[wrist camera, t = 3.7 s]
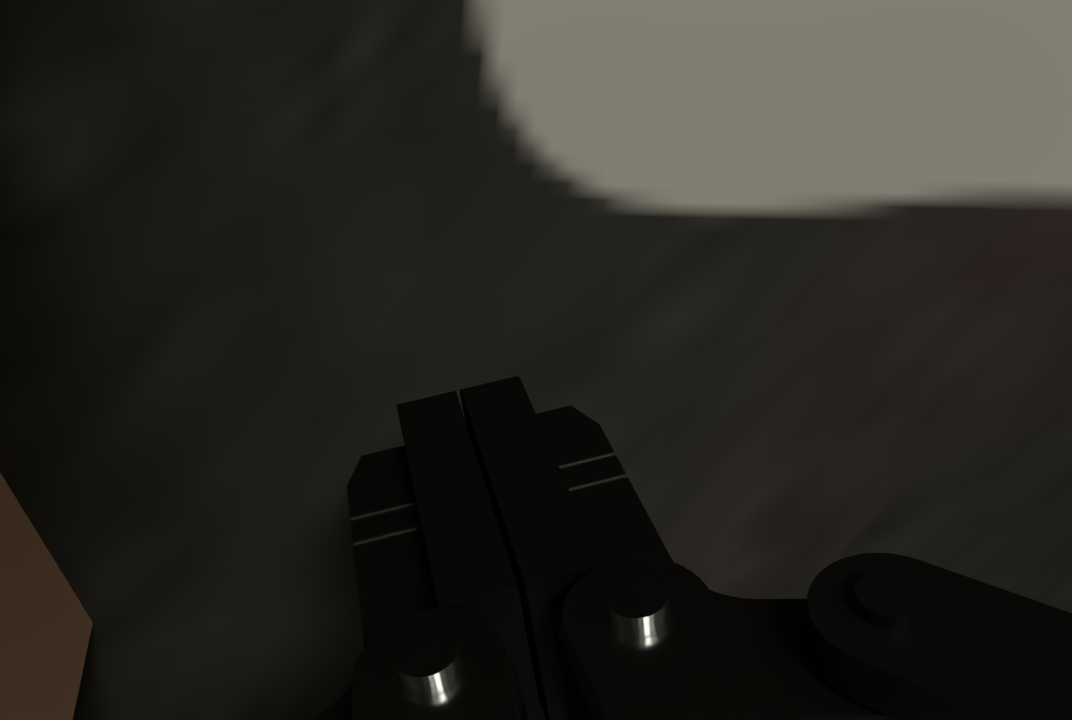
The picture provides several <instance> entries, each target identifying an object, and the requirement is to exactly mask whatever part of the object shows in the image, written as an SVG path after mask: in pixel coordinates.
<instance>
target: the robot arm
mask: <svg viewBox="0 0 1072 720" xmlns="http://www.w3.org/2000/svg"><path fill="white" fill-rule="evenodd" d="M460 395H461V401H462V407H463V412H464V416H463V413H462V410H461V406H460V403H459V400H458V397H457V394H456V392H455V391H453V392H449V393H445V394H440V395H436V396H432V397H428V398H423V399H419V400H415V401H410V402H406V403H402V404H398V405H397V410H398V415H399V420H400V424H401V429H402V434H403V439H404V443H405V446H401V447H397V448H393V449H388V450H384V451H380V452H376V453H372V454H368V455H363V456H361V458H360V460H359V462H358V464H357V466H356V469H355V471H354V473H353V475H352V477H351V479H350V481H349V483H348V485H347V492H348V501H349V510H350V517H351V528H352V537H353V543H354V555H355V564H356V573H357V582H358V590H359V599H360V608H361V617H362V626H363V635H364V649H363V650H362V652H361V654H360V656H359V658H358V659H357V662H356V665H355V668H354V671H353V678H352V683H351V685H350V686H349V687H348V689H347V690H346V691H345V692H344V694H343V695H342V696H341V697H340V698H339V699H338V700H337V701H336V702H335V703H334V704H333V705H332V706H331V707H330V708H328V709H327V710H326V711H325V712H323V713H322V714H321V715H319V716H318V717H316V718H315V719H313V720H543V719H542V713H541V708H540V703H541V707H542V710H543V713H544V717H545V720H1072V613H1069V612H1066V611H1064V610H1061V609H1058V608H1055V607H1052V606H1049V605H1046V604H1044V603H1041V602H1038V601H1035V600H1032V599H1029V598H1026V597H1023V596H1021V595H1018V594H1015V593H1012V592H1009V591H1006V590H1003V589H1001V588H998V587H995V586H992V585H989V584H986V583H983V582H981V581H978V580H975V579H972V578H969V577H966V576H963V575H961V574H958V573H955V572H952V571H949V570H946V569H943V568H941V567H938V566H935V565H932V564H929V563H926V562H923V561H921V560H918V559H914V558H911V557H907V556H903V555H897V554H890V553H865V554H859V555H853V556H850V557H846V558H843V559H840V560H838V561H836V562H834V563H832V564H830V565H829V566H827V567H826V568H825V569H823V570H822V571H821V572H820V573H819V574H818V575H817V576H816V577H815V579H814V580H813V582H812V584H811V586H810V588H809V592H808V595H807V599H745V598H738V597H732V596H728V595H724V594H720V593H717V592H714V591H712V590H709V588H708V587H707V585H706V584H705V583H704V582H703V581H702V580H701V578H700V577H698V576H697V575H696V574H695V573H693V572H692V571H691V570H689V569H687V568H685V567H684V566H682V565H679V564H677V563H674V562H673V560H672V559H671V557H670V555H669V553H668V552H667V550H666V548H665V546H664V544H663V542H662V540H661V539H660V537H659V535H658V533H657V531H656V529H655V527H654V525H653V524H652V522H651V520H650V518H649V516H648V514H647V512H646V510H645V509H644V507H643V505H642V503H641V501H640V499H639V497H638V495H637V494H636V492H635V490H634V488H633V486H632V484H631V482H630V481H629V479H628V478H626V475H625V471H624V469H623V467H622V466H621V464H620V462H619V460H618V458H617V456H615V455H614V451H613V449H612V447H611V445H610V443H609V441H608V439H607V437H606V436H605V434H604V432H603V430H602V428H601V426H600V424H598V423H597V422H595V421H594V420H592V419H590V418H589V417H587V416H586V415H584V414H583V413H581V412H580V411H578V410H577V409H575V408H574V407H572V406H567V407H562V408H558V409H554V410H550V411H546V412H542V413H537V414H536V413H535V411H534V409H533V406H532V404H531V402H530V399H529V397H528V395H527V393H526V390H525V388H524V386H523V384H522V381H521V379H520V378H519V376H516V377H512V378H508V379H503V380H499V381H495V382H491V383H486V384H482V385H478V386H474V387H469V388H465V389H461V390H460ZM464 417H465V419H464ZM539 700H540V703H539Z"/></svg>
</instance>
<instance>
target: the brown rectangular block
mask: <svg viewBox="0 0 1072 720" xmlns="http://www.w3.org/2000/svg"><path fill="white" fill-rule="evenodd" d="M92 624H93V622H92V620H91V619H90V617H89V616H88V614H87V612H86V611H85V609H84V608H83V606H82V604H81V603H80V601H79V599H78V598H77V596H76V595H75V593H74V591H73V590H72V588H71V586H70V585H69V583H68V582H67V580H66V578H65V577H64V575H63V573H62V572H61V570H60V569H59V567H58V565H57V564H56V562H55V561H54V559H53V557H52V556H51V554H50V552H49V551H48V549H47V548H46V546H45V544H44V543H43V541H42V539H41V538H40V536H39V535H38V533H37V531H36V530H35V528H34V526H33V525H32V523H31V522H30V520H29V518H28V517H27V515H26V514H25V512H24V510H23V509H22V507H21V505H20V504H19V502H18V501H17V499H16V497H15V496H14V494H13V492H12V491H11V489H10V488H9V486H8V484H7V483H6V481H5V479H4V478H3V476H2V475H1V473H0V720H73V715H74V711H75V706H76V701H77V696H78V691H79V687H80V682H81V677H82V672H83V667H84V663H85V658H86V653H87V648H88V643H89V639H90V634H91V629H92Z"/></svg>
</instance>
